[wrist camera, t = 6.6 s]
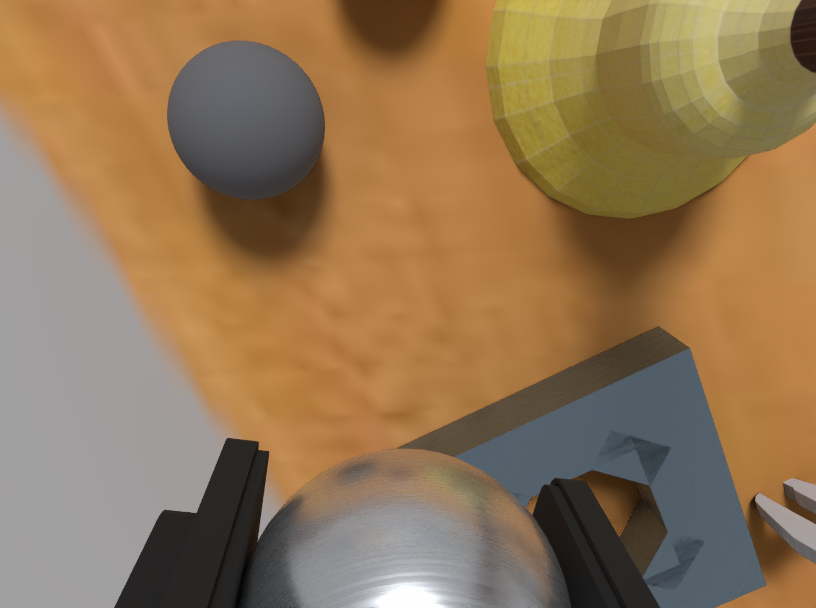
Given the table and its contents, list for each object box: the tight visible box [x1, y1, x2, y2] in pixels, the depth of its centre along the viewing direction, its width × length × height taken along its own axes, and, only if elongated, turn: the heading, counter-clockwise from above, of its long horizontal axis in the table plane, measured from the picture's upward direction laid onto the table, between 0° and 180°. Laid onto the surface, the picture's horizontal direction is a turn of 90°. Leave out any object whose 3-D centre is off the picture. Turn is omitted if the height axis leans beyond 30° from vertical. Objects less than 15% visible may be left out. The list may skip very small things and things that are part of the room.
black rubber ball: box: [167, 41, 325, 200], centre depth 19 cm, size 5×5×5 cm
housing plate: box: [397, 326, 766, 608], centre depth 27 cm, size 14×14×2 cm
